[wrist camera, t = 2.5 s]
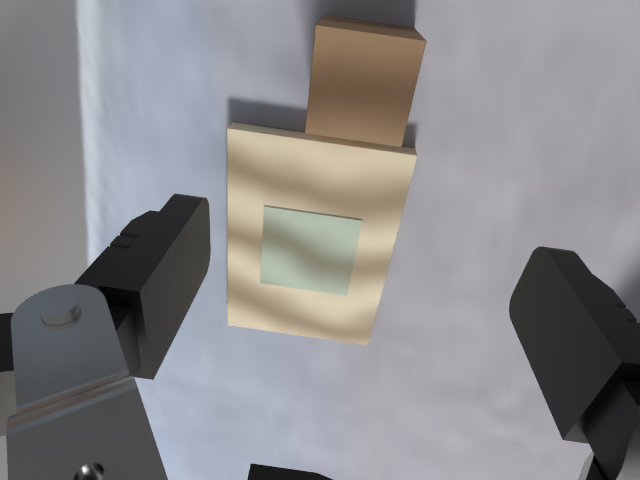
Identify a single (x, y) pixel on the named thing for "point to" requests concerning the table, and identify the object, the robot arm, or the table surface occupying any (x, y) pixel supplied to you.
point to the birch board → (311, 230)
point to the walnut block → (363, 80)
